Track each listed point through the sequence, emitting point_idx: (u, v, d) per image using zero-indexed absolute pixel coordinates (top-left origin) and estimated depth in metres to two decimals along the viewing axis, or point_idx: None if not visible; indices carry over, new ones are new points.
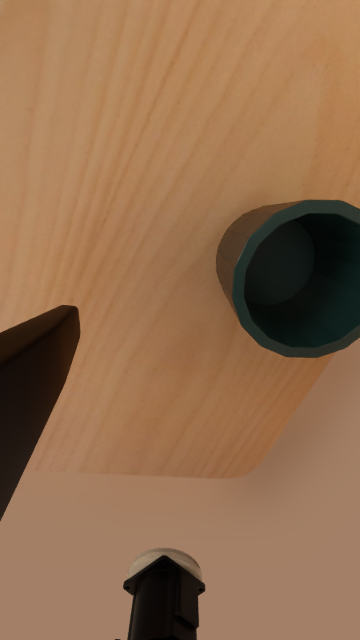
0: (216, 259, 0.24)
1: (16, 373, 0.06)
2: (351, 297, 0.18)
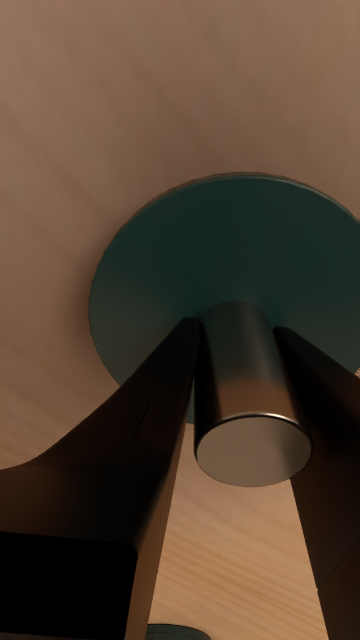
0: (183, 630, 0.26)
1: (189, 390, 0.06)
2: None
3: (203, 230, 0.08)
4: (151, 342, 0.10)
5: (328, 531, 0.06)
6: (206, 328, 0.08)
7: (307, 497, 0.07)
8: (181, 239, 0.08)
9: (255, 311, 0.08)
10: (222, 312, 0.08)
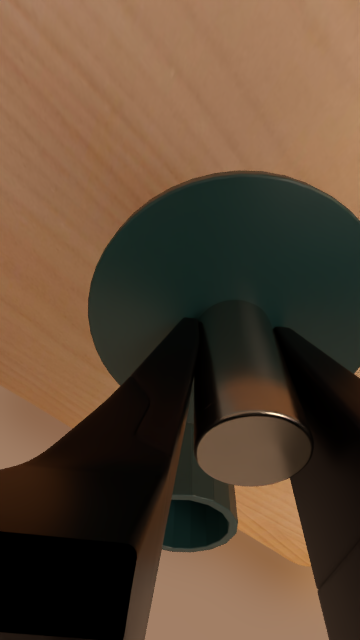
0: None
1: (189, 390, 0.06)
2: None
3: (203, 229, 0.08)
4: (151, 341, 0.10)
5: (328, 531, 0.06)
6: (206, 327, 0.08)
7: (307, 497, 0.07)
8: (181, 237, 0.08)
9: (255, 310, 0.08)
10: (222, 311, 0.08)
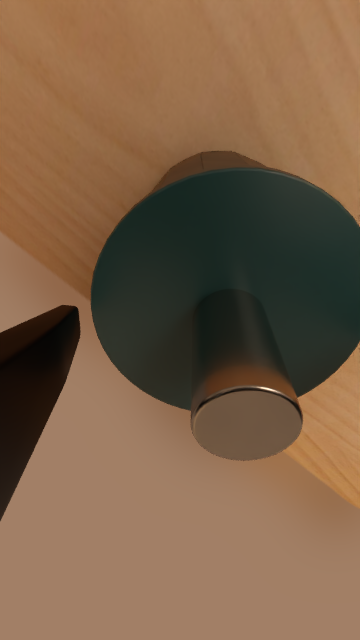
0: None
1: (16, 373, 0.06)
2: None
3: (200, 220, 0.08)
4: (151, 330, 0.10)
5: None
6: (203, 314, 0.08)
7: None
8: (180, 228, 0.08)
9: (250, 299, 0.09)
10: (218, 299, 0.09)
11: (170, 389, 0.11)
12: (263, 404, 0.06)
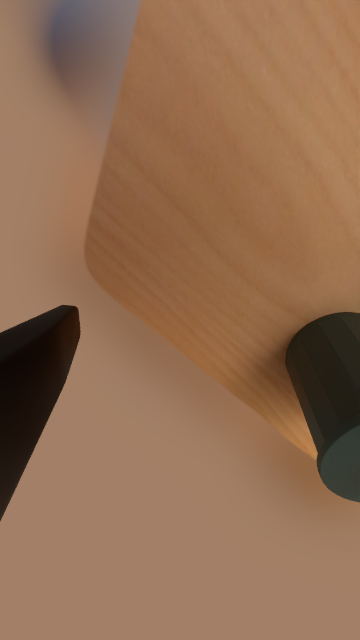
0: None
1: (16, 373, 0.06)
2: None
3: None
4: (353, 466, 0.18)
5: None
6: None
7: None
8: None
9: None
10: None
11: (350, 492, 0.19)
12: None
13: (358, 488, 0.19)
